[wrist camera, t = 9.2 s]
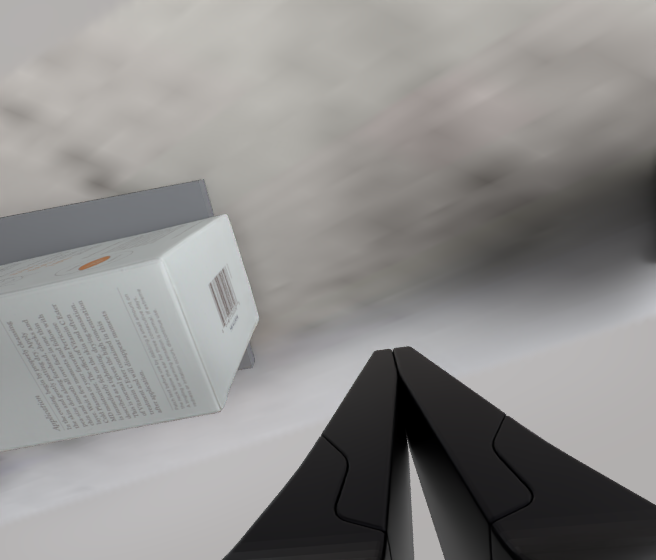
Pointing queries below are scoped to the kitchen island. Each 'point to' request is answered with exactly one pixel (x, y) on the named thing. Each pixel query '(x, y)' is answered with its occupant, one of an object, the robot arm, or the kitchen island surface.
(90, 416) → the small box
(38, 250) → the mat
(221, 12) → the kitchen island surface
